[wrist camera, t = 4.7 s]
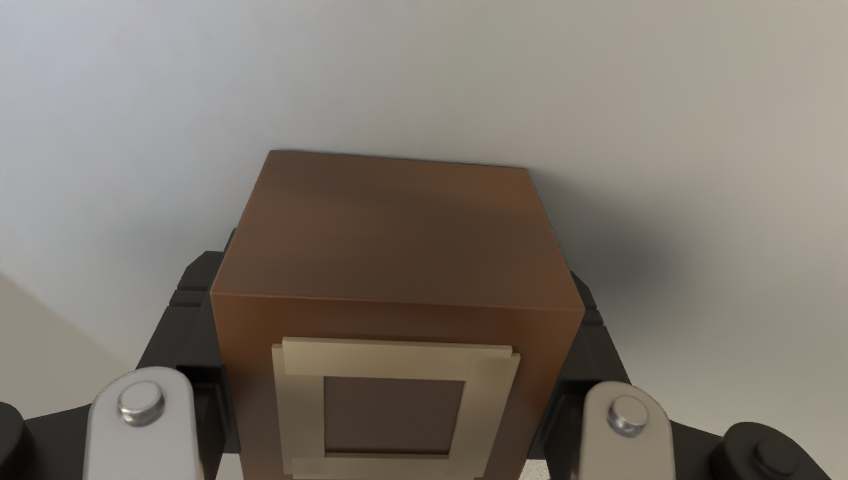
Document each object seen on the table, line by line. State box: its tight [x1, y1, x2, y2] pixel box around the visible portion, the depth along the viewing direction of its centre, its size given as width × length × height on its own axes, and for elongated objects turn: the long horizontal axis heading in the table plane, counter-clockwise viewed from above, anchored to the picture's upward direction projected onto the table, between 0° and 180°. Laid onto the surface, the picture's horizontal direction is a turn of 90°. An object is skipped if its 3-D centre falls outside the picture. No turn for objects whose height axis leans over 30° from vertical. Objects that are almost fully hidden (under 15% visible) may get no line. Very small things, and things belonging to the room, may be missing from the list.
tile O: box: [209, 150, 585, 480], centre depth 10 cm, size 5×5×4 cm
